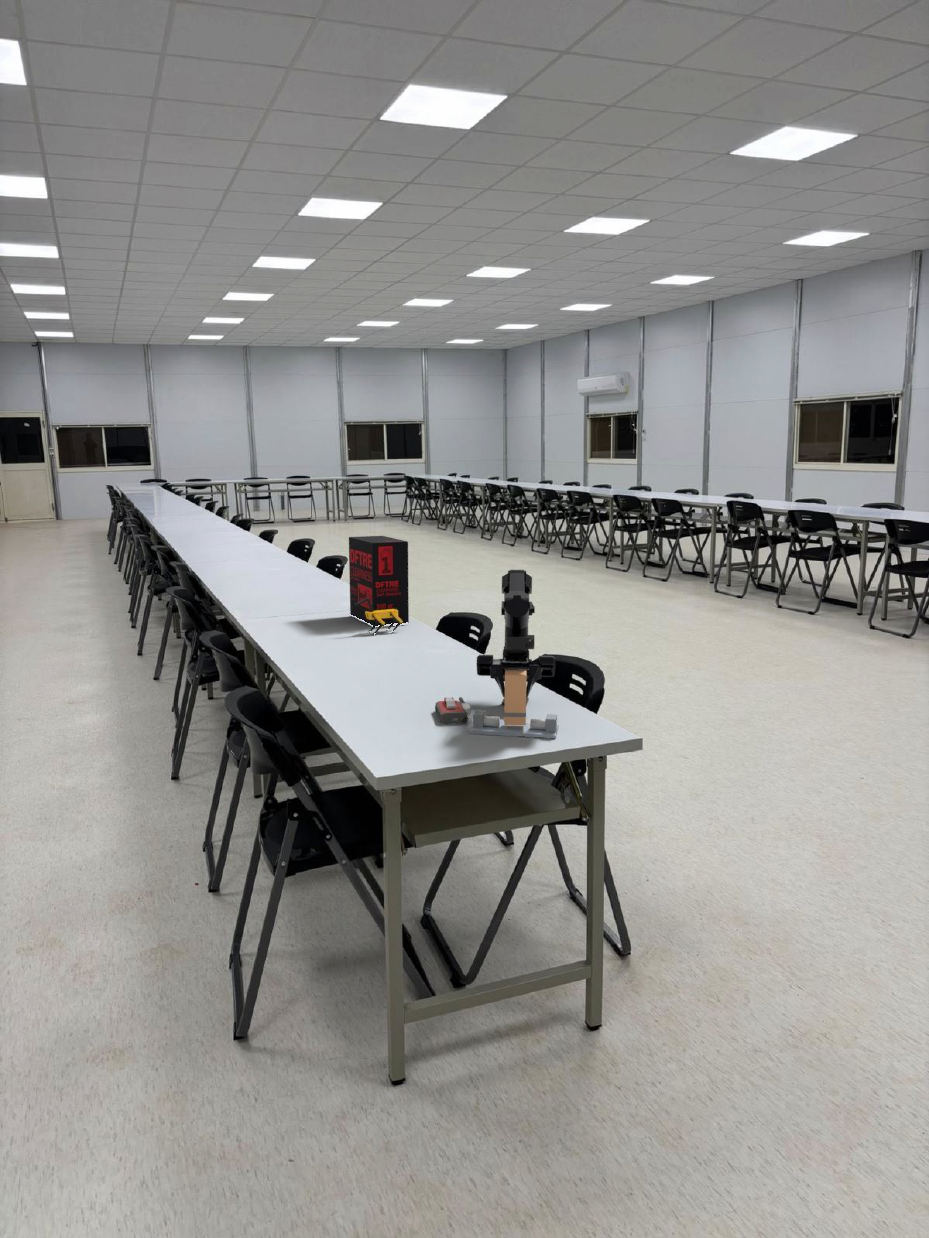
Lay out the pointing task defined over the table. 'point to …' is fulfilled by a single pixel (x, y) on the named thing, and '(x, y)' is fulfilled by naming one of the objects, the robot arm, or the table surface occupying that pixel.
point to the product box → (378, 576)
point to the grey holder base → (514, 726)
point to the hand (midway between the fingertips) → (515, 696)
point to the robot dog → (380, 615)
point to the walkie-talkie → (452, 711)
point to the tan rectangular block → (515, 697)
